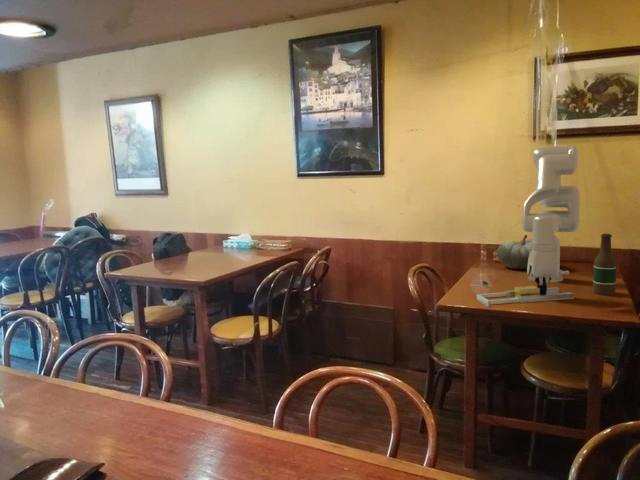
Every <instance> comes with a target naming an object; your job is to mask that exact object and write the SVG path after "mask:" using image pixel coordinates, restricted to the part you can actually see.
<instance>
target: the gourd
mask: <svg viewBox="0 0 640 480" xmlns="http://www.w3.org/2000/svg"><path fill="white" fill-rule="evenodd" d="M532 243H533V238H528V235H527V234H524V237H523V238H522V239H521V240H520V241H517V240H516V241H515V240H513V241H507V242H504V243H502V244H500V245H499V246H498V248H497V249H496V256H497V259H498V260H499V262H500V263H501V264H502V265H503V266H505V267H506V268H509V269H511V270H512V269H513V270H519V269H522V270H527V266H528V258H529V254H530V251H532Z"/></svg>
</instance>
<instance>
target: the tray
mask: <svg viewBox="0 0 640 480" xmlns="http://www.w3.org/2000/svg"><path fill="white" fill-rule="evenodd" d="M498 297H499V298H500V297H507V296H506V293H505V291H504V292H503V291H502V292H493V293H492V292H491V293H478V294H477V293H476V294H475V300H476V301H477V302H478V303H480V304H482V305H484V306H486V307H488V308H491V307H493V306H492V305H500V304H502V305H503V304H513V303H520V302H519V298H512V299H511V298H502V299H501V298H500V299H487V298H498Z"/></svg>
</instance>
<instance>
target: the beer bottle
mask: <svg viewBox="0 0 640 480" xmlns="http://www.w3.org/2000/svg"><path fill="white" fill-rule="evenodd" d="M600 237H601V239H600V248H599V253H598V254H597V256H596V257H595V259H594V261H593V262H594V263H593V270H592V271H593V275H592V276H593V277H592V293H593V294H595V295H599V296H614V295H615V294H616V287H617V286H616V284H617V281H616V280H617V260H616V259H615V257H614V255H613V253H612V234H610V233H601V234H600ZM613 294H614V295H613Z"/></svg>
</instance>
